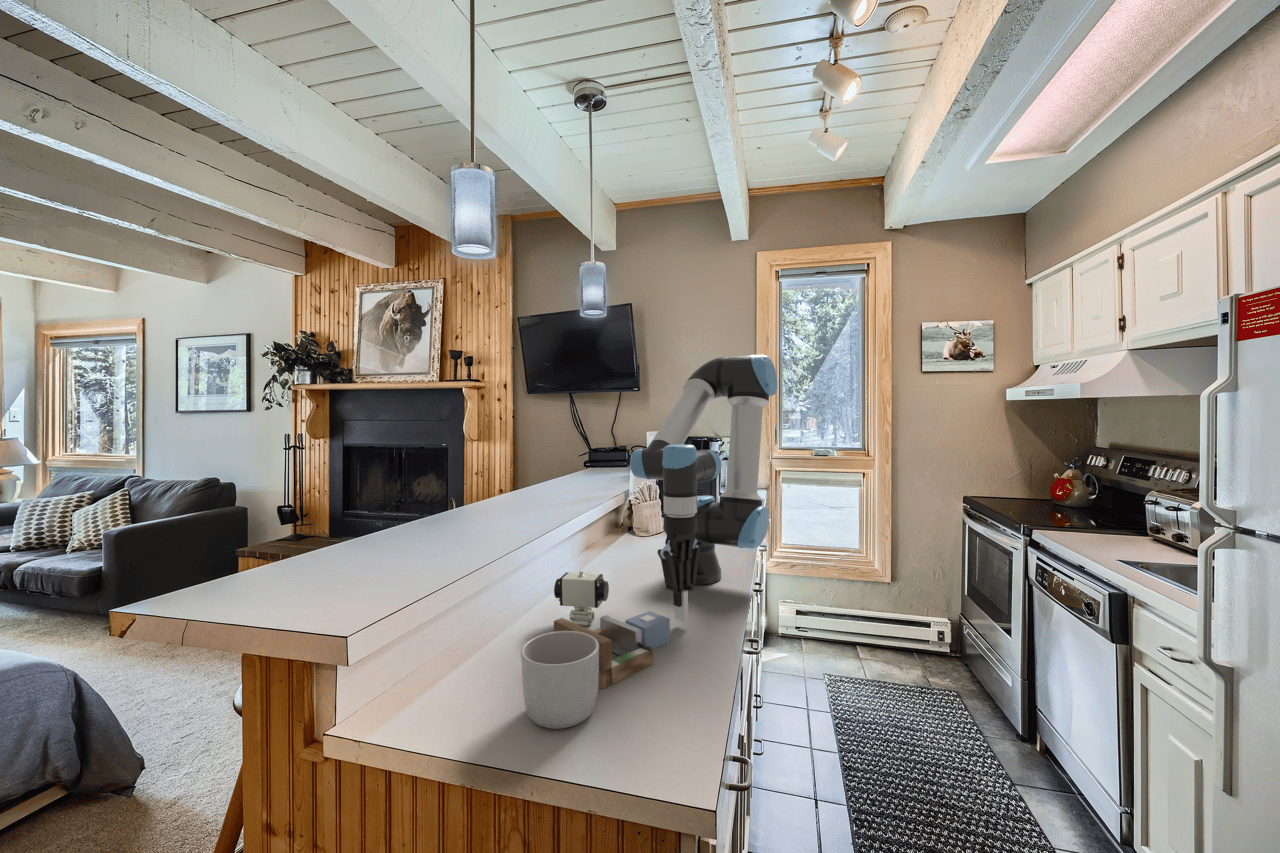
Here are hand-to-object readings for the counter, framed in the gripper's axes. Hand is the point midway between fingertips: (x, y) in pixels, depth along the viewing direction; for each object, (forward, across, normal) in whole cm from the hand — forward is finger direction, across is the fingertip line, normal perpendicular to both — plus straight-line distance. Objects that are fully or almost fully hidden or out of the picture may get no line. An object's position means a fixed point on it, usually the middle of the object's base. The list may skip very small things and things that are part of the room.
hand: (681, 618), depth 117 cm
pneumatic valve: (+2, +14, -18) cm, 23 cm away
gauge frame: (+2, +23, 0) cm, 23 cm away
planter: (+2, +39, +8) cm, 40 cm away
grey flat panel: (+1, +19, +1) cm, 19 cm away
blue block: (+2, +11, 0) cm, 11 cm away
